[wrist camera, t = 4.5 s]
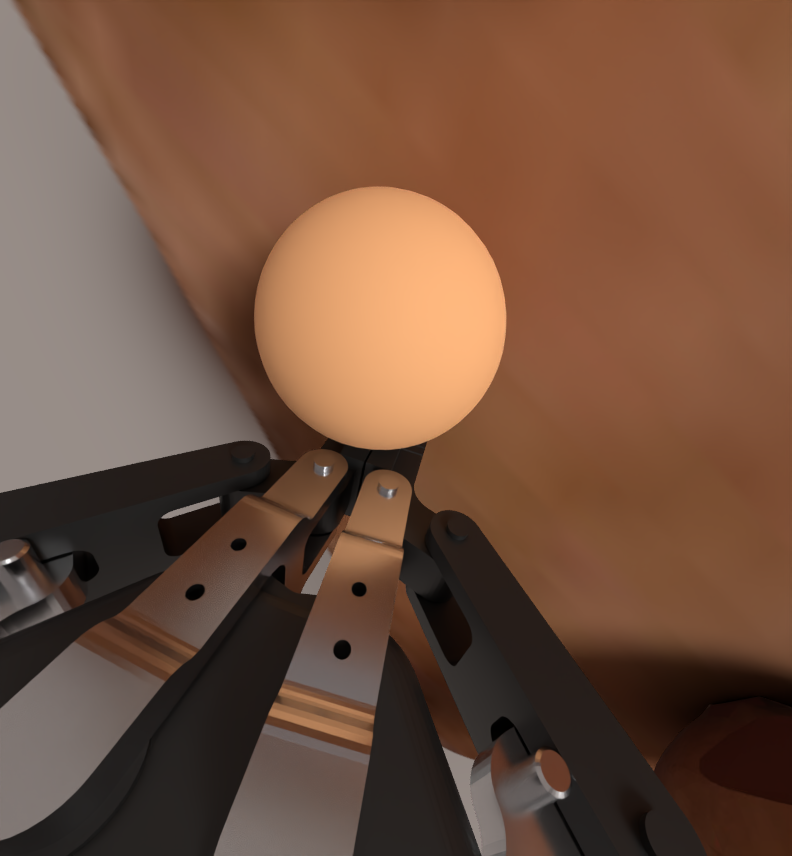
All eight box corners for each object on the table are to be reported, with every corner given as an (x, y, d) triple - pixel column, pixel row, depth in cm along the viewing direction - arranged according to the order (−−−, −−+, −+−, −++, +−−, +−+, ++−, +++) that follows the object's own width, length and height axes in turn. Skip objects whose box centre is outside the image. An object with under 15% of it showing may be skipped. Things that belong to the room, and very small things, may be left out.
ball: (340, 232, 11) (230, 61, 5) (513, 283, 11) (603, 154, 5) (294, 402, 12) (156, 415, 6) (452, 456, 12) (464, 526, 6)
